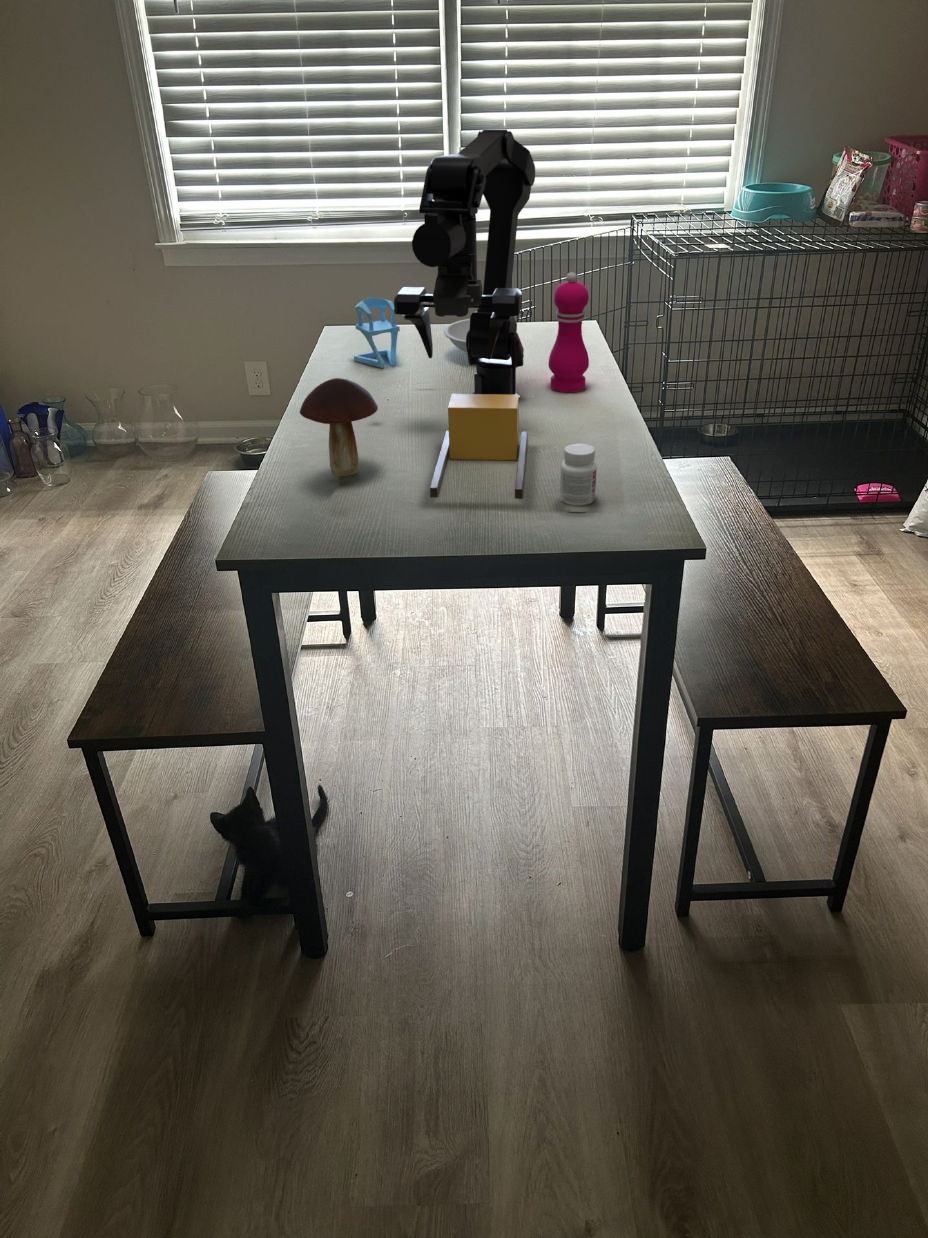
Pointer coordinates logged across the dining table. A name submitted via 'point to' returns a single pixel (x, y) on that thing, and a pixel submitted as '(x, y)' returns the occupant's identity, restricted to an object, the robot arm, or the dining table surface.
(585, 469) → the pill bottle
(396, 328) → the chair
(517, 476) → the maple track
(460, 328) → the dish
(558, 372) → the pepper mill
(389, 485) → the dining table surface
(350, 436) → the decorative mushroom
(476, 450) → the ochre block
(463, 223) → the robot arm
